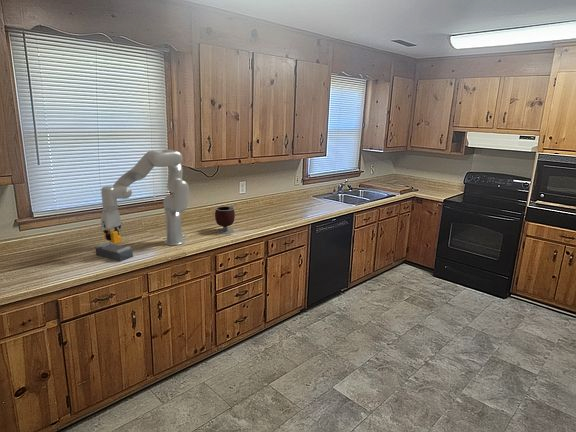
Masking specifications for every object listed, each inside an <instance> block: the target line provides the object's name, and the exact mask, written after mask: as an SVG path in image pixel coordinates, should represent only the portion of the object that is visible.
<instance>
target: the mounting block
mask: <svg viewBox="0 0 576 432" xmlns="http://www.w3.org/2000/svg"><path fill="white" fill-rule="evenodd" d="M94 250H95V255H96V256H97V257H101V258H106V259H109V260H112V261H116V262H119V263H121V262H124V261H125V260H129V259H131V258H134V253H133V248H131V246H130V245H128V246H122V245H119V244H116V243H115V244H114V243H112V242H110V241H107V242H105V243H101V244H98V245H97V246H95V249H94Z"/></svg>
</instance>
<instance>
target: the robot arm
mask: <svg viewBox="0 0 576 432" xmlns="http://www.w3.org/2000/svg"><path fill="white" fill-rule="evenodd" d="M183 160H184V159H183V155H182V153H181V152H180V151H178V150H173V149H164V150H162V151H154V150H149V151H146V153H144V155H143V156H141V158H140V159H139V160H138V161H137V163H136V164H135V165H134V166H133V167H132V168H131V169H129V170H128V171H127V172H125V173H123V174H122V175H121V176H120V177H119V178H118V179H117V180H116V181H115V182H114V183H113V185H111V186H110V185H108V186H107V185H106V186H102V187H101V189H100V191H101V201H102V211H101V214H100V225H101V226H100V228H99V230H100V231H101V232H103V234H104V233H106V239H105V240H106V241H108V240H111V234H112V233H111V234H109V233H110V232H111V229H114V231H117V232H118V235H119V236H120V233H119V232H120V230H121V227H122V226H123V224H124V223H123V222H122V221H121V214H120V211H119V204H118V200H127V199H129V198H130V197H131V196H132V194H133V191H132V189H131V188H130V186H131V185H132V184H133V183H135V182H137V181H141V180H143V179H145V178H146V177H147V176H148V174H149V173H150V172H151V171H152V170H153V169H154V168H155V167H157V168H159V167H161V168H162V167H167V171H168V175H167V185H166V188H167V190H168V191H169V192H170V193H172V194H167V195H166V196H165V197H164V199H163V204H162V205H163V208H164V215H165V232H166V239H165V240H164V241H163V242H164V245H167V246H173V247H174V246H179V245H183V244H184V243H185V237H186V236H187V233H184V234H182V231H183V230H182V216H181V215H182V214H181V213H183V212H185V211H186V209H187V207H188V201H189V193H190V186H189V184H188V182H187V181H185V180H183V172H184V171H183V169H184V168H183V165H182V163H183ZM117 199H118V200H117ZM104 228H105V229H104ZM107 229H108V230H107ZM114 231H113V232H114Z"/></svg>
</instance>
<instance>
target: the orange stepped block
mask: <svg viewBox="0 0 576 432" xmlns="http://www.w3.org/2000/svg"><path fill="white" fill-rule="evenodd" d="M104 229H105V228H104ZM107 230H108V229H107ZM109 234H111V240H107V242H111V244H115V245H116V244H118V243H122V241H123V239H122V236H121V235H120V234H119V235H118V232H117V231H110V233H109ZM103 235H104V240H106V233H104V232H103Z"/></svg>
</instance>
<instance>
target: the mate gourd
mask: <svg viewBox="0 0 576 432" xmlns="http://www.w3.org/2000/svg"><path fill="white" fill-rule="evenodd" d="M235 205H237V203H234V204H232V205H229V206H227V205H223V206H217V207H215V210H214V211H215V212H214V218H215V223H216V224H217V225H218V226H220V227H221V228H218V229H217V230H216V233H217V234H221V235H230V234H233V233H234V231H235V229H233V228H229V227H230V226H232V225H233V223H234V222H235V216H236V214H235V213H236V212H235V208H234V207H235Z"/></svg>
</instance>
